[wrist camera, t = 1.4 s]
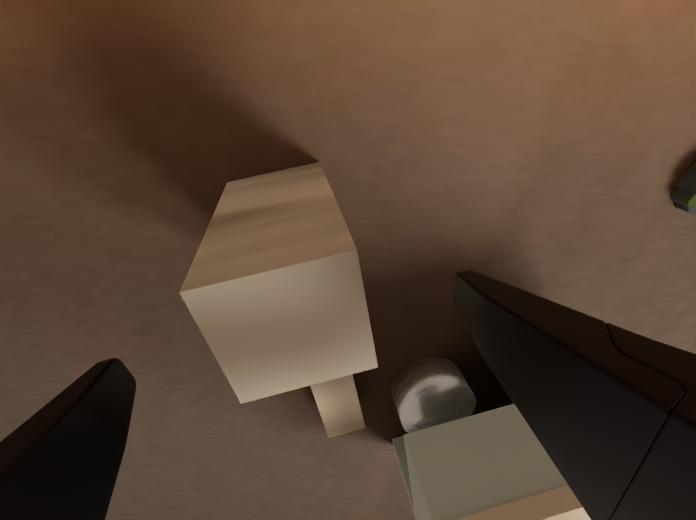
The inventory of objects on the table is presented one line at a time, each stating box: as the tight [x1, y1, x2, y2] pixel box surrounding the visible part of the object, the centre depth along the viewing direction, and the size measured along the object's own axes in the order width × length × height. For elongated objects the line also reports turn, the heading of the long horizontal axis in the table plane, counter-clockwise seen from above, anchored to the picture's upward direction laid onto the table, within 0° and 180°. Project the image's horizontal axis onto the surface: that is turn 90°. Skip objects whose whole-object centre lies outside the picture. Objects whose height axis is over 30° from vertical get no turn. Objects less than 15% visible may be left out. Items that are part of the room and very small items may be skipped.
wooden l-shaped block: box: [179, 162, 378, 438], centre depth 15 cm, size 16×4×8 cm, turn 10°
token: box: [391, 357, 476, 433], centre depth 22 cm, size 5×5×2 cm
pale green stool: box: [392, 404, 591, 520], centre depth 20 cm, size 10×12×10 cm
